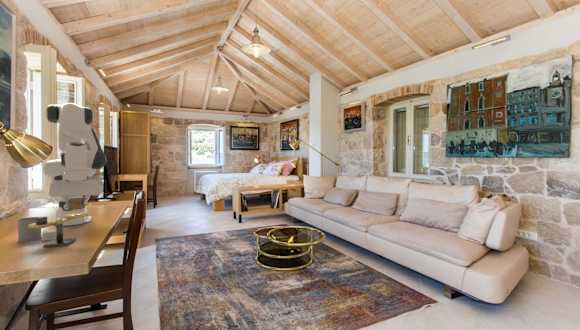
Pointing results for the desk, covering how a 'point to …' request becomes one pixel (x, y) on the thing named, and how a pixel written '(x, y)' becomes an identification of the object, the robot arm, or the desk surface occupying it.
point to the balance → (57, 229)
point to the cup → (28, 230)
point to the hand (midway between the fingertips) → (76, 205)
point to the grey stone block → (49, 235)
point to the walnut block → (76, 203)
